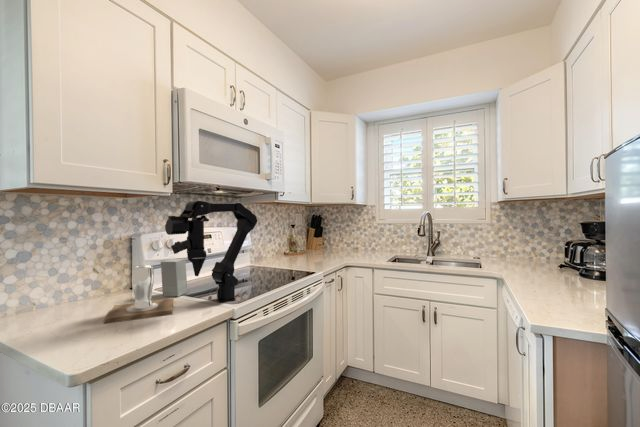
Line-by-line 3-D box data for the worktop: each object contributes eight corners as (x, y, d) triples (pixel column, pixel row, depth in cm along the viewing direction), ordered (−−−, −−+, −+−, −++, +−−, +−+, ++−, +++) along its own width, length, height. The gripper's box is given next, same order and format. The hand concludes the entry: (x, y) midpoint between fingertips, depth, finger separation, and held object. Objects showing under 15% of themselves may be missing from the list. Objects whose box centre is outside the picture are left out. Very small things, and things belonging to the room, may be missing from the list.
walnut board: (173, 302, 118) (173, 297, 118) (172, 314, 103) (172, 309, 103) (114, 309, 109) (114, 304, 109) (104, 323, 95) (104, 318, 95)
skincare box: (187, 293, 131) (187, 258, 131) (176, 297, 124) (176, 261, 124) (172, 292, 133) (172, 258, 133) (160, 296, 126) (160, 260, 126)
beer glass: (156, 303, 111) (156, 264, 111) (151, 309, 104) (151, 267, 104) (135, 305, 109) (135, 265, 109) (129, 310, 102) (129, 268, 102)
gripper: (173, 232, 116) (173, 271, 116) (171, 235, 99) (171, 281, 99) (202, 231, 120) (203, 269, 120) (206, 234, 104) (206, 277, 104)
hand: (196, 273), depth 111 cm, fingers open, 9 cm apart
